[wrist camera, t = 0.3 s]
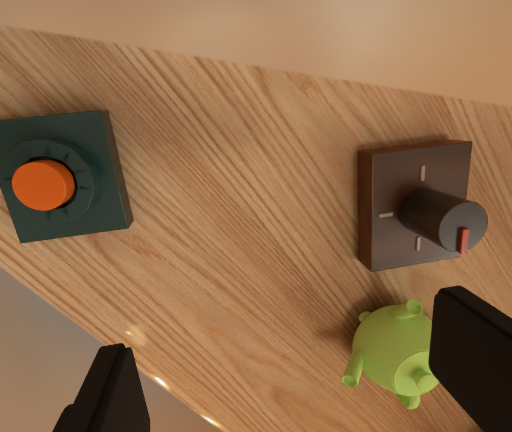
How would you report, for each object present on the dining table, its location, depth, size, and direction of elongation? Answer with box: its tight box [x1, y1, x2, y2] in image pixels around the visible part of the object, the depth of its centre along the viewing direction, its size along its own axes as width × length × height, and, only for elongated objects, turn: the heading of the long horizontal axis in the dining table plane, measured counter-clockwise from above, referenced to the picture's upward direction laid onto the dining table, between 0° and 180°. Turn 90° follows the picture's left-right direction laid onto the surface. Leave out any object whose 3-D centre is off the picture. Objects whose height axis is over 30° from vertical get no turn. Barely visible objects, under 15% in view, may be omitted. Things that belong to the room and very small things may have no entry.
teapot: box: [342, 299, 439, 409], centre depth 34 cm, size 11×12×8 cm
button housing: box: [0, 110, 134, 243], centre depth 26 cm, size 10×9×4 cm
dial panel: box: [358, 140, 472, 272], centre depth 32 cm, size 12×10×3 cm
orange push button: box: [12, 160, 75, 211], centre depth 24 cm, size 4×4×2 cm
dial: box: [400, 188, 488, 254], centre depth 28 cm, size 4×4×6 cm
